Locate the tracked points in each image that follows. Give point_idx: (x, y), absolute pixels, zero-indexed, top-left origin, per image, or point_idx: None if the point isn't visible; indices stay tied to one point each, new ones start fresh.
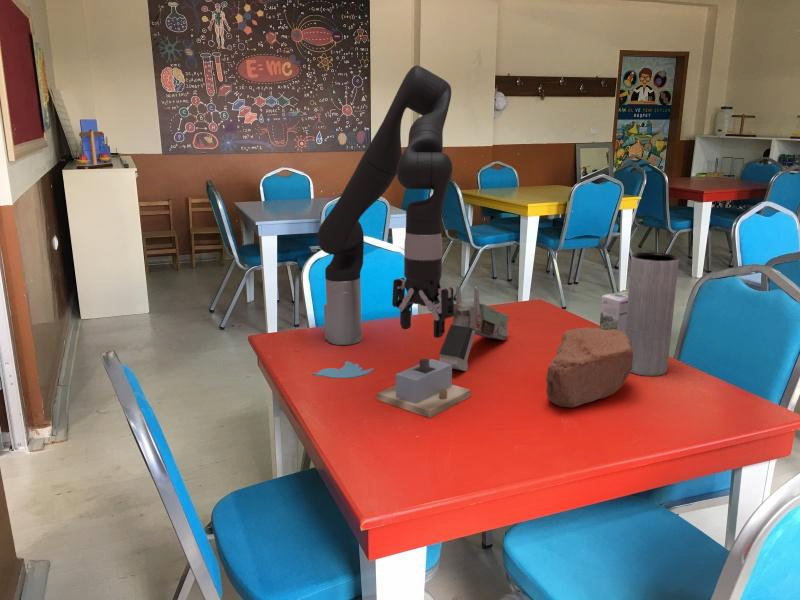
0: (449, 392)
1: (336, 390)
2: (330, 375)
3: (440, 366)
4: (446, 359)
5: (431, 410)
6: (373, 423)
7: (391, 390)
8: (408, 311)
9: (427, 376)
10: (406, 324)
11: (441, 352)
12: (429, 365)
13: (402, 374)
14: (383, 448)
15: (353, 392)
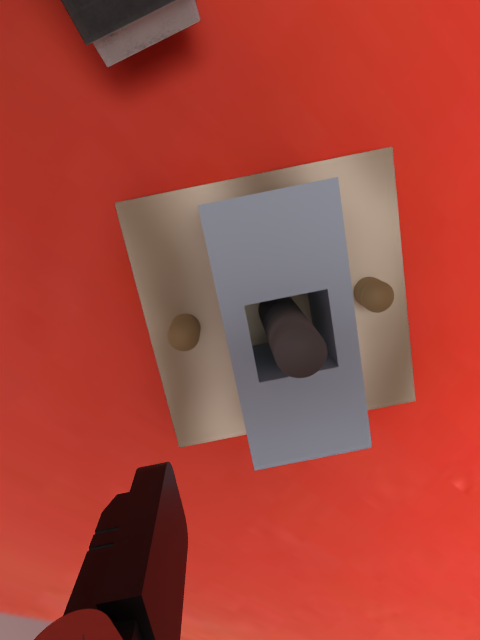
0: (350, 237)
1: (27, 491)
2: None
3: (316, 247)
4: (136, 34)
5: (414, 392)
6: (314, 527)
7: (190, 396)
8: (153, 635)
9: (362, 375)
10: (176, 533)
11: (88, 24)
12: (268, 282)
13: (276, 450)
14: (442, 578)
15: (76, 458)
